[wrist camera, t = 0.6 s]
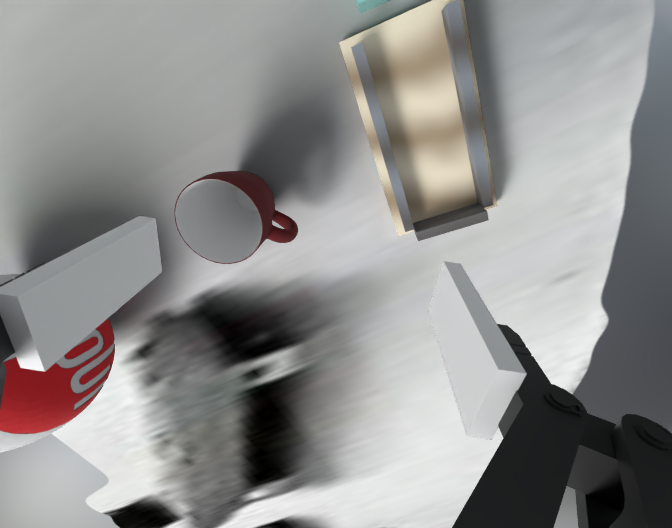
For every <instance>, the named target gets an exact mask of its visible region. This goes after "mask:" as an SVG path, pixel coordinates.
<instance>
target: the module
mask: <svg viewBox="0 0 672 528" xmlns="http://www.w3.org/2000/svg"><path fill="white" fill-rule="evenodd" d="M387 1H389V0H356V4H357V8H358V12H359V14H360V13H362V12H364V11H367V10H369V9H371V8H374V7H376V6H378V5H380V4H383V3H385V2H387Z"/></svg>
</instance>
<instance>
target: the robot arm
mask: <svg viewBox="0 0 672 528" xmlns="http://www.w3.org/2000/svg"><path fill="white" fill-rule="evenodd" d="M161 272H162V265H161V257H160V249H159V241H158V233H157V225H156V218H149V217H143V216H138V217H136V218H134V219H132V220H130V221H128V222H126V223H124V224H122V225H120V226H118V227H116V228H115V229H113V230H111V231H109V232H107V233H105V234H103V235H101V236H99V237H97V238H95V239H93V240H91V241H89V242H87V243H85V244H83V245H81V246H79V247H77V248H75V249H74V250H72V251H70V252H68V253H66V254H64V255H62V256H60V257H58V258H56V259H54V260H52V261H50V262H47V263H43V264H40V265H38V266H36V267H34V268H32V269H30V270H29V271H27V273H23V274H21V275H19V276H17V277H15V279H11V280H9V281H7V282H5V283H3V284H1V285H0V409H1V403H2V396H3V390H4V384H5V378H6V372H7V370H6V367H5V364H4V362H3V361H4V360H5V359H7V358H8V357H10V356H11V355H12V354H14V353H15V355H16V358H17V360H18V363H19V365H20V368H25V369H31V370H38V371H44V372H45V371H46V370H47V369H49V368H50V367H51V366H52V365H53V364H55V363H56V362H57V361H58V360H59V359H60V358H62V357H63V356H64V355H65V354H66V353H67V352H69V351H70V350H71V349H72V348H73V347H74V346H76V345H77V344H78V343H79V342H80V341H82V340H83V339H84V338H85V337H86V336H87V335H89V334H90V333H91V332H92V331H93V330H94V329H96V328H97V327H98V326H99V325H100V324H102V323H103V322H104V321H105V320H106V319H107V318H109V317H110V316H111V315H112V314H113V313H114V312H116V311H117V310H118V309H119V308H120V307H122V306H123V305H124V304H125V303H126V302H127V301H129V300H130V299H131V298H132V297H133V296H134V295H136V294H137V293H138V292H139V291H140V290H141V289H143V288H144V287H145V286H146V285H147V284H149V283H150V282H151V281H152V280H153V279H154V278H156V277H157V276H158V275H159V274H160V273H161ZM428 313H429V316H430V320H431V323H432V326H433V329H434V332H435V336H436V339H437V342H438V345H439V349H440V352H441V355H442V358H443V361H444V365H445V368H446V371H447V374H448V378H449V381H450V384H451V387H452V390H453V394H454V397H455V400H456V403H457V406H458V410H459V413H460V416H461V419H462V423H463V426H464V429H465V432H466V435H467V436H469V437H476V438H482V439H489V440H492V438H493V436H494V434H495V433H496V431H497V429H498V427H499V428H500V431H501V433H502V436H503V438H504V439H503V440H502V442H501V444H500V446H499V447H498V449H497V451H496V452H495V454H494V456H493V458H492V459H491V461H490V463H489V465H488V466H487V468H486V470H485V472H484V473H483V475H482V477H481V478H480V480H479V482H478V484H477V485H476V487H475V489H474V491H473V492H472V494H471V496H470V497H469V499H468V501H467V503H466V504H465V506H464V508H463V510H462V511H461V513H460V515H459V517H458V518H457V520H456V522H455V523H454V525H453V527H452V528H553V527H554V524H555V521H556V518H557V514H558V511H559V508H560V505H561V502H562V498H563V495H564V492H565V489H566V486H569V487H571V488H573V489H575V492H576V504H577V515H578V527H579V528H672V434H671V433H670V432H669V431H668V430H667V429H665V428H663V427H662V426H661V425H659V424H657V423H655V422H653V421H651V420H649V419H647V418H644V417H642V416H638V415H635V414H634V415H633V414H626V415H624V416H623V417H621V419H620V420H619V421H618V423H617V424H614V423H611V422H609V421H606V420H603V419H601V418H598V417H596V416H593V415H590V414H588V413H587V411H586V409H585V408H584V406H583V404H582V403H581V402H580V401H579V400H578V399H577V398H576V397H575V396H573V395H572V394H571V393H569V392H568V391H566V390H565V389H562V388H560V387H558V386H556V385H552V384H551V383H550V381H549V380H548V378H547V377H546V375H545V374H544V372H543V371H542V369H541V368H540V366H539V365H538V363H537V362H536V360H535V359H534V357H533V356H531V353H530V351H529V350H528V348H526V345H525V344H524V342H523V341H522V339H521V338H520V336H519V335H518V334H517V333H515V332H514V331H513V330H512V329H511V328H510V327H508V326H507V325H500V324H497V323H496V322H495V320H494V318H493V317H492V315H491V314H490V312H489V310H488V309H487V307H486V305H485V304H484V302H483V300H482V299H481V297H480V295H479V294H478V292H477V290H476V289H475V287H474V285H473V284H472V282H471V280H470V279H469V277H468V275H467V274H466V272H465V270H464V269H463V267H462V265H461V264H458V263H451V262H443V265H442V268H441V272H440V275H439V278H438V281H437V285H436V288H435V291H434V294H433V297H432V301H431V304H430V307H429V310H428Z"/></svg>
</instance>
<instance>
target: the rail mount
mask: <svg viewBox="0 0 672 528" xmlns="http://www.w3.org/2000/svg"><path fill="white" fill-rule="evenodd" d="M339 44H340V47H341V51H342V54H343V57H344V60H345V64H346V67H347V70H348V74H349V77H350V80H351V83H352V87H353V90H354V93H355V96H356V100H357V103H358V106H359V110H360V113H361V116H362V119H363V123H364V126H365V129H366V133H367V136H368V139H369V142H370V146H371V149H372V152H373V156H374V159H375V162H376V165H377V169H378V172H379V175H380V179H381V182H382V185H383V188H384V192H385V195H386V198H387V202H388V205H389V208H390V211H391V215H392V218H393V221H394V225H395V228H396V231H397V234H398V236H400V235H403V234H407V233H410V232H413V231H414V232H415V234H416V237H417V239H418V241H420V240H423V239H427V238H430V237H434V236H437V235H440V234H444V233H447V232H450V231H454V230H457V229H460V228H464V227H467V226H471V225H474V224H477V223H481V222H484V221H487V220H488V214H487V211H486V210H485V209H489V208H492V207H495V206H497V201H496V195H495V189H494V183H493V177H492V171H491V165H490V159H489V152H488V146H487V140H486V134H485V128H484V122H483V116H482V110H481V104H480V98H479V92H478V86H477V80H476V74H475V68H474V61H473V55H472V49H471V43H470V37H469V31H468V25H467V19H466V13H465V7H464V1H463V0H432V1H430V2H427V3H425V4H423V5H421V6H418V7H416V8H414V9H412V10H410V11H407V12H405V13H403V14H401V15H399V16H396V17H394V18H392V19H390V20H388V21H385V22H383V23H381V24H379V25H376V26H374V27H372V28H370V29H368V30H365V31H363V32H361V33H359V34H357V35H354V36H352V37H350V38H348V39H346V40H343V41H341V42H339Z"/></svg>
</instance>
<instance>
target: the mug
mask: <svg viewBox="0 0 672 528" xmlns="http://www.w3.org/2000/svg"><path fill="white" fill-rule="evenodd" d="M272 220H273V221H275V222H276V223H278V224H279V225H281V226H282V227H283V228H284V229H281V228H278V227H276V226H273V225H272ZM175 222H176V226H177V229H178V231H179V233H180V235H181V237H182V238H183V240H184V241H185V243H186V244H187V245H188V246H189V247H190V248H191V249H192V250H193V251H194V252H195V253H197V254H198V255H200V256H201V257H203V258H205V259H207V260H210V261H213V262H216V263H222V264H232V263H237V262H241V261H243V260H245V259H247V258H248V257H250V256H251V255H252V254H253V253H254V252H255V251H256V250H257V249H258V248H259V246H260V245H261V244H262V243H263V242H264V241H265V240H266V239H270V240H272V241H275V242H279V243H287V242H291V241H292V240H293V239H295V237H296V235H297V233H298V227H297V224H296V223H295V221H294V220H292V219H291V218H290V217H288V216H286V215H285V214H282V213H280V212H278V211H276V210H275V203H274V197H273V194H272V191H271V189H270V188H269V186H268V185H267V184H266V182H265V181H264V180H262V179H261V178H260V177H258V176H257V175H255V174H252V173H249V172H244V171H228V172H217V173H212V174H209V175H206V176H204V177H202V178H200V179H198V180H196V181H194V182H192V183H191V184H189V185H188V186H186V187H185V188H184V189H183V191H182V192H181V193H180V195H179V196H178V199H177V201H176V205H175Z"/></svg>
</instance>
